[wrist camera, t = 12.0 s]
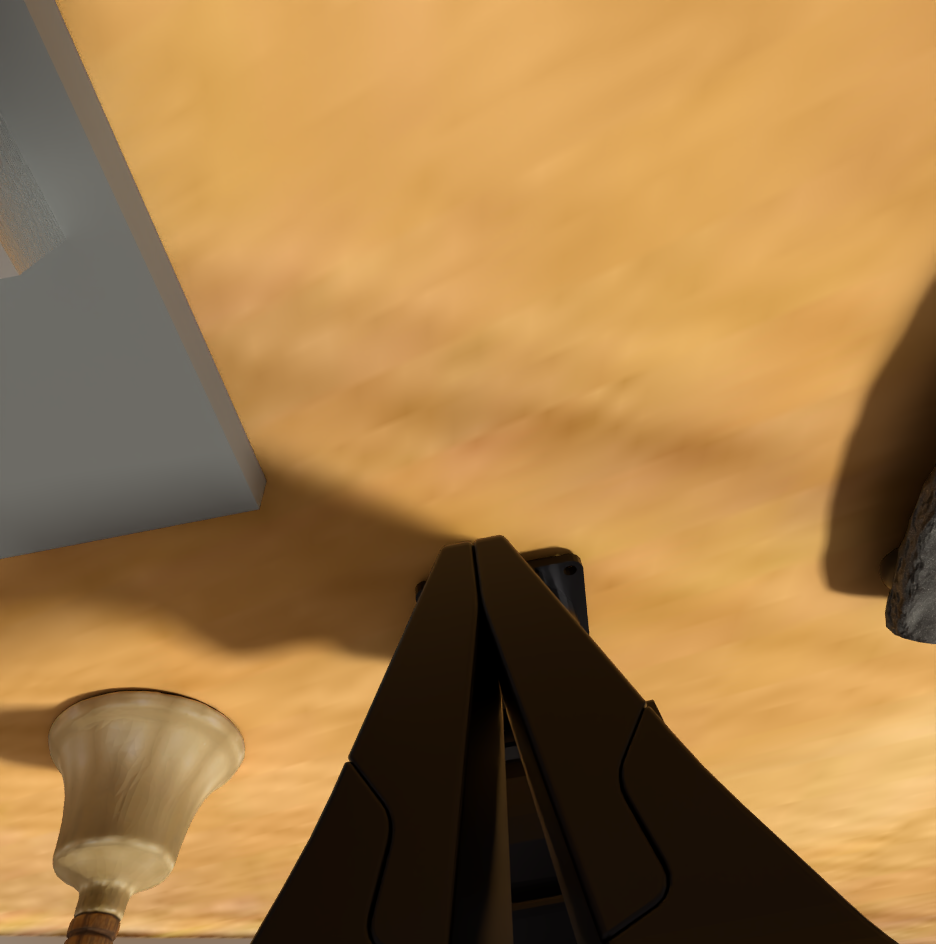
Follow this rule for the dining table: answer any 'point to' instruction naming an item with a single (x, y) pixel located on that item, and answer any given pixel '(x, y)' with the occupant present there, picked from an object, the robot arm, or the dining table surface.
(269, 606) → the dining table surface
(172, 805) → the hand bell
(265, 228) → the dining table surface
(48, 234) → the square hole block
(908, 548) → the serving board
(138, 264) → the board
